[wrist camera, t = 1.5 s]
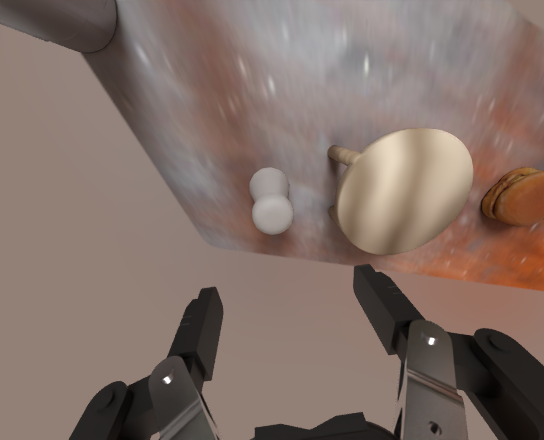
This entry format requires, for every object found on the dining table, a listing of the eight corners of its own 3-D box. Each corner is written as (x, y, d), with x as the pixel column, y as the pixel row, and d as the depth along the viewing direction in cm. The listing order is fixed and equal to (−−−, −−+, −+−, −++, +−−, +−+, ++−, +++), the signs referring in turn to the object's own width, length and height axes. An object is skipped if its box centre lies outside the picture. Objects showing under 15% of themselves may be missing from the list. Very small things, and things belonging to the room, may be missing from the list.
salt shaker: (292, 170, 31) (312, 200, 19) (280, 204, 33) (292, 249, 21) (255, 159, 30) (252, 184, 18) (245, 195, 32) (238, 237, 20)
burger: (470, 217, 36) (497, 230, 32) (497, 165, 32) (533, 171, 28) (519, 219, 37) (552, 231, 33) (552, 168, 33) (594, 174, 29)
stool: (318, 226, 35) (338, 262, 26) (314, 134, 29) (340, 140, 20) (403, 214, 35) (452, 246, 26) (419, 119, 29) (493, 117, 20)
